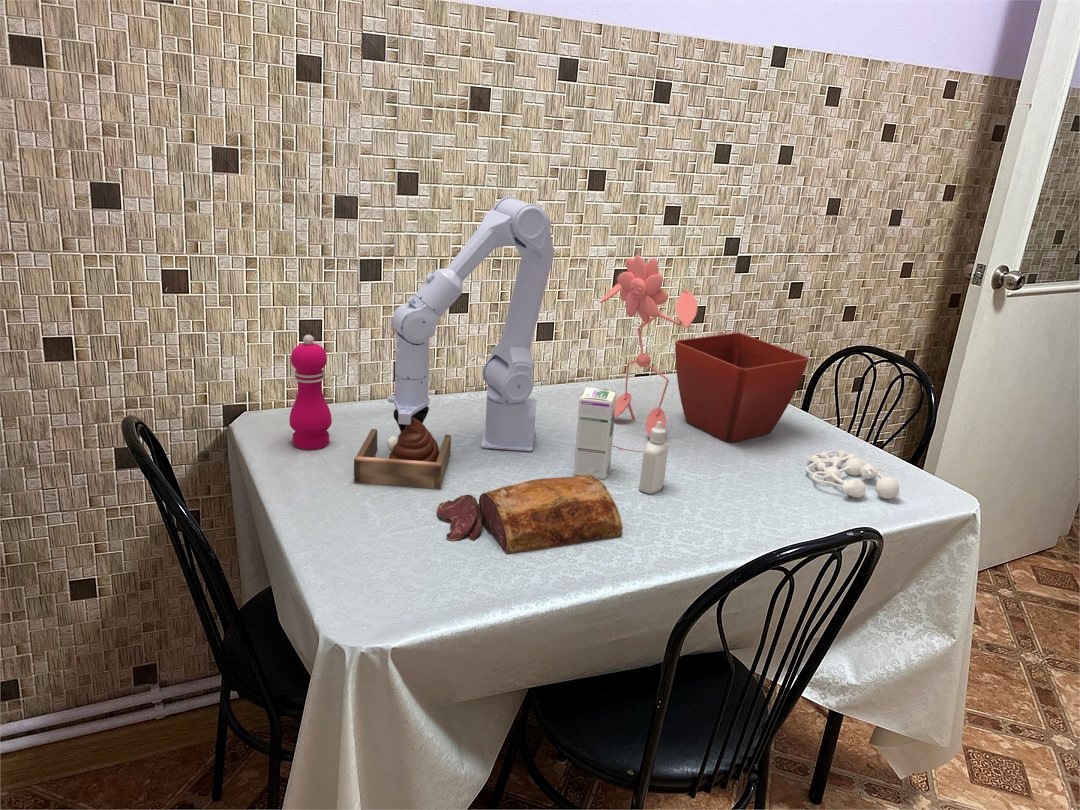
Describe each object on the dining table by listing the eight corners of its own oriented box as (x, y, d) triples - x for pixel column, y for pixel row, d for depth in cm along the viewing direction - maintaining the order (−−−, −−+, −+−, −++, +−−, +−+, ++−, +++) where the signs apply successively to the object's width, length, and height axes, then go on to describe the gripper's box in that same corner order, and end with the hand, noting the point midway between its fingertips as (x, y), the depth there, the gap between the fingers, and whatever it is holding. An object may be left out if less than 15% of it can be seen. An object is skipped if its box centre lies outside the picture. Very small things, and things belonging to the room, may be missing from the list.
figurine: (610, 405, 180) (625, 240, 167) (698, 449, 161) (722, 267, 148) (552, 418, 171) (563, 245, 158) (638, 466, 152) (659, 274, 139)
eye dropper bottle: (672, 490, 143) (681, 424, 139) (645, 495, 140) (653, 429, 136) (656, 479, 146) (665, 415, 142) (630, 485, 144) (637, 419, 139)
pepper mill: (281, 445, 149) (277, 336, 142) (306, 432, 155) (304, 326, 148) (315, 454, 146) (313, 343, 139) (340, 440, 152) (338, 333, 145)
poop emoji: (416, 484, 138) (417, 431, 135) (375, 470, 142) (375, 418, 139) (451, 463, 146) (453, 413, 143) (411, 451, 150) (412, 402, 147)
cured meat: (423, 509, 131) (424, 469, 128) (565, 486, 142) (569, 450, 139) (466, 570, 116) (469, 527, 113) (621, 540, 127) (626, 500, 124)
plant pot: (796, 437, 170) (811, 357, 164) (729, 453, 160) (743, 368, 154) (727, 405, 185) (739, 331, 179) (662, 419, 174) (672, 340, 168)
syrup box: (605, 480, 145) (614, 401, 140) (572, 475, 146) (579, 396, 141) (610, 467, 150) (618, 390, 145) (577, 462, 151) (584, 385, 146)
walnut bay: (450, 455, 150) (451, 433, 148) (440, 489, 137) (441, 465, 135) (371, 449, 150) (371, 427, 148) (354, 482, 137) (353, 458, 135)
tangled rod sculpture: (786, 461, 162) (788, 441, 160) (860, 459, 162) (863, 439, 161) (823, 505, 143) (825, 483, 142) (906, 502, 144) (909, 480, 143)
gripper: (396, 360, 151) (395, 430, 156) (380, 386, 137) (379, 462, 142) (435, 363, 151) (433, 433, 156) (423, 389, 137) (421, 465, 142)
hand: (410, 447), depth 149 cm, fingers closed
